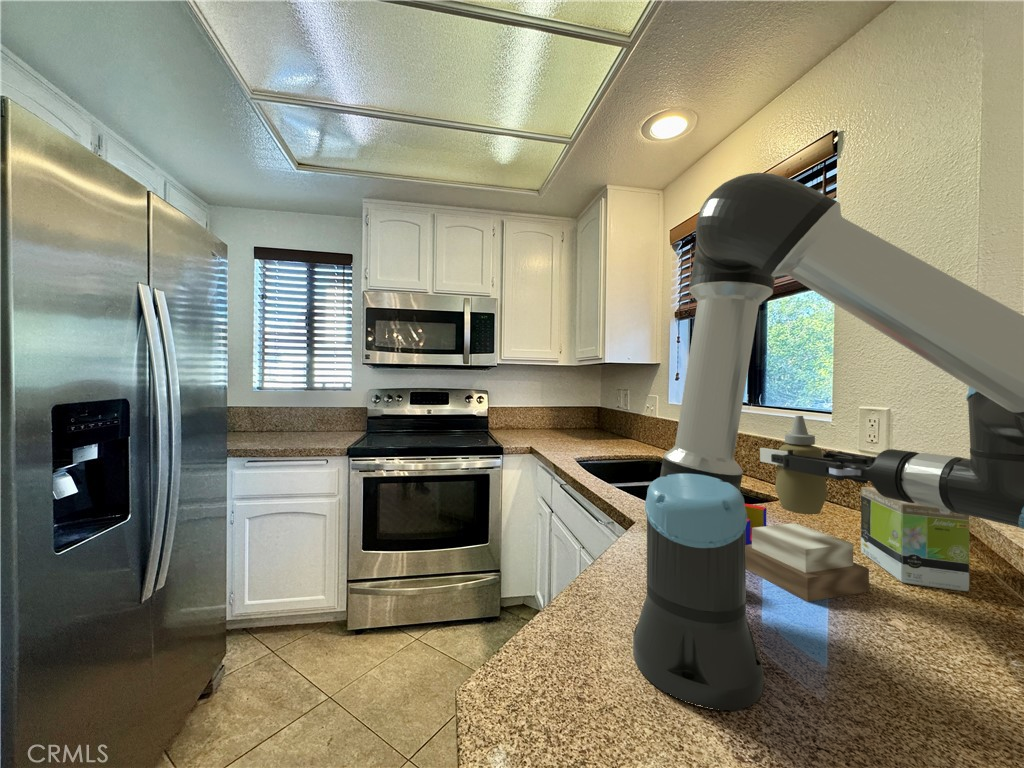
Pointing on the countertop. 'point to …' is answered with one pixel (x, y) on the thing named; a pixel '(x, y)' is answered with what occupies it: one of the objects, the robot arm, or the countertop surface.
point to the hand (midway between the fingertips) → (776, 453)
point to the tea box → (915, 541)
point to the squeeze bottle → (800, 475)
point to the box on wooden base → (805, 562)
